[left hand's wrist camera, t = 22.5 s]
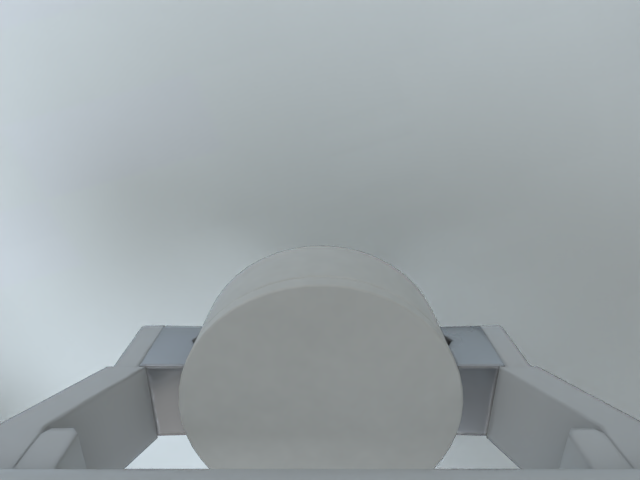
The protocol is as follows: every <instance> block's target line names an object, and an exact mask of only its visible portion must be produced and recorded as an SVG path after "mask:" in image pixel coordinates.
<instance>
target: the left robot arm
mask: <svg viewBox="0 0 640 480" xmlns="http://www.w3.org/2000/svg"><path fill="white" fill-rule="evenodd" d="M201 328H202V326H164V325H155V326H143V327H141V329H140V330H139V331H138V333H137V334H136V336H135V337H134V339H133V340H132V341H131V343H130V344H129V346H128V347H127V348H126V350H125V351H124V353H123V354H122V355H121V357H120V358H119V360H118V361H117V363H116V364H115V365H114V367H106V368H104V369H102V370H100V371H98V372H96V373H94V374H92V375H91V376H89V377H87V378H85V379H83V380H81V381H79V382H78V383H76V384H74V385H72V386H70V387H68V388H66V389H65V390H63V391H61V392H59V393H57V394H55V395H53V396H51V397H50V398H48V399H46V400H44V401H42V402H40V403H38V404H37V405H35V406H33V407H31V408H29V409H27V410H25V411H24V412H22V413H20V414H18V415H16V416H14V417H12V418H10V419H9V420H7V421H5V422H3V423H1V424H0V480H640V421H639V420H637V419H635V418H633V417H631V416H629V415H627V414H625V413H624V412H622V411H620V410H618V409H616V408H614V407H612V406H610V405H609V404H607V403H605V402H603V401H601V400H599V399H597V398H595V397H594V396H592V395H590V394H588V393H586V392H584V391H582V390H580V389H578V388H577V387H575V386H573V385H571V384H569V383H567V382H565V381H563V380H562V379H560V378H558V377H556V376H554V375H552V374H550V373H548V372H547V371H545V370H543V369H541V368H539V367H531V366H530V365H529V363H528V362H527V361H526V359H525V358H524V356H523V355H522V354H521V352H520V351H519V350H518V348H517V347H516V345H515V344H514V343H513V341H512V340H511V339H510V337H509V336H508V334H507V333H506V332H505V330H504V329H503V328H502V327H501V326H499V325H490V326H462V327H440V329H441V331H442V333H443V335H444V337H445V340H446V342H447V344H448V346H449V348H450V350H451V353H452V355H453V357H454V359H455V362H456V365H457V367H458V370H459V372H460V377H461V382H462V387H463V408H462V416H461V421H460V424H459V427H458V431H457V434H456V435H482V436H487V438H488V439H489V440H490V441H491V442H492V443H493V444H494V445H495V446H496V447H498V448H499V449H500V450H501V451H502V452H503V453H504V454H505V455H506V456H507V457H508V458H509V459H511V460H512V461H513V462H514V463H515V464H516V465H517V466H518V467H519V468H520V469H124V468H126V467H127V466H128V465H129V464H130V463H131V462H132V461H133V460H134V459H135V458H136V457H137V456H138V455H140V454H141V453H142V452H143V451H144V450H145V449H146V448H147V447H148V446H149V445H150V444H151V443H152V442H154V441H155V440H156V439H157V438H158V437H157V436H162V435H186V433H185V430H184V427H183V424H182V421H181V415H180V409H179V385H180V379H181V374H182V371H183V368H184V365H185V362H186V359H187V357H188V355H189V353H190V351H191V349H192V347H193V345H194V343H195V341H196V339H197V337H198V335H199V332H200V330H201Z"/></svg>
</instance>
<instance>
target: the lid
mask: <svg viewBox="0 0 640 480" xmlns="http://www.w3.org/2000/svg"><path fill="white" fill-rule="evenodd" d="M462 408H463V387H462V382H461V377H460V372H459V370H458V367H457V365H456V362H455V359H454V357H453V355H452V353H451V350H450V348H449V346H448V344H447V342H446V340H445V337H444V335H443V333H442V331H441V329H440V327H439V324H438V322H437V320H436V318H435V316H434V314H433V311H432V309H431V307H430V306H429V304H428V302H427V301H426V299H425V297H424V296H423V294H422V293H421V292H420V291H419V289H418V288H417V287H416V285H415V284H414V283H413V282H411V281H410V280H409V279H408V278H407V277H406V276H405V275H404V274H403V273H401V272H400V271H399V270H397V269H396V268H394V267H393V266H392V265H390V264H388V263H386V262H384V261H382V260H381V259H379V258H377V257H374V256H371V255H369V254H366V253H363V252H361V251H356V250H352V249H348V248H343V247H334V246H307V247H299V248H293V249H289V250H285V251H281V252H278V253H275V254H273V255H270V256H268V257H265V258H263V259H261V260H259V261H257V262H256V263H254V264H252V265H250V266H248V267H247V268H246V269H245V270H243V271H242V272H241V273H239V274H238V275H237V276H235V277H234V278H233V279H232V280H231V281H230V282H229V283H228V284H227V285H226V286H225V288H224V289H223V290H222V292H221V293H220V295H219V296H218V297H217V299H216V301H215V302H214V304H213V306H212V308H211V310H210V312H209V314H208V316H207V318H206V320H205V322H204V324H203V326H202V328H201V330H200V332H199V335H198V337H197V339H196V341H195V343H194V345H193V347H192V349H191V351H190V353H189V355H188V357H187V359H186V362H185V365H184V368H183V371H182V374H181V379H180V385H179V409H180V415H181V421H182V424H183V427H184V430H185V433H186V435H187V437H188V439H189V441H190V443H191V445H192V447H193V449H194V450H195V451H196V453H197V454H198V456H199V457H200V459H201V460H202V461H203V462H204V463H205V464H206V466H207V467H208V468H209V469H434V468H435V467H436V465H437V464H438V463H439V462H440V461H441V460H442V459H443V457H444V455H445V454H446V452H447V451H448V449H449V448H450V446H451V444H452V442H453V440H454V438H455V436H456V434H457V431H458V427H459V424H460V421H461V416H462Z"/></svg>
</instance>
